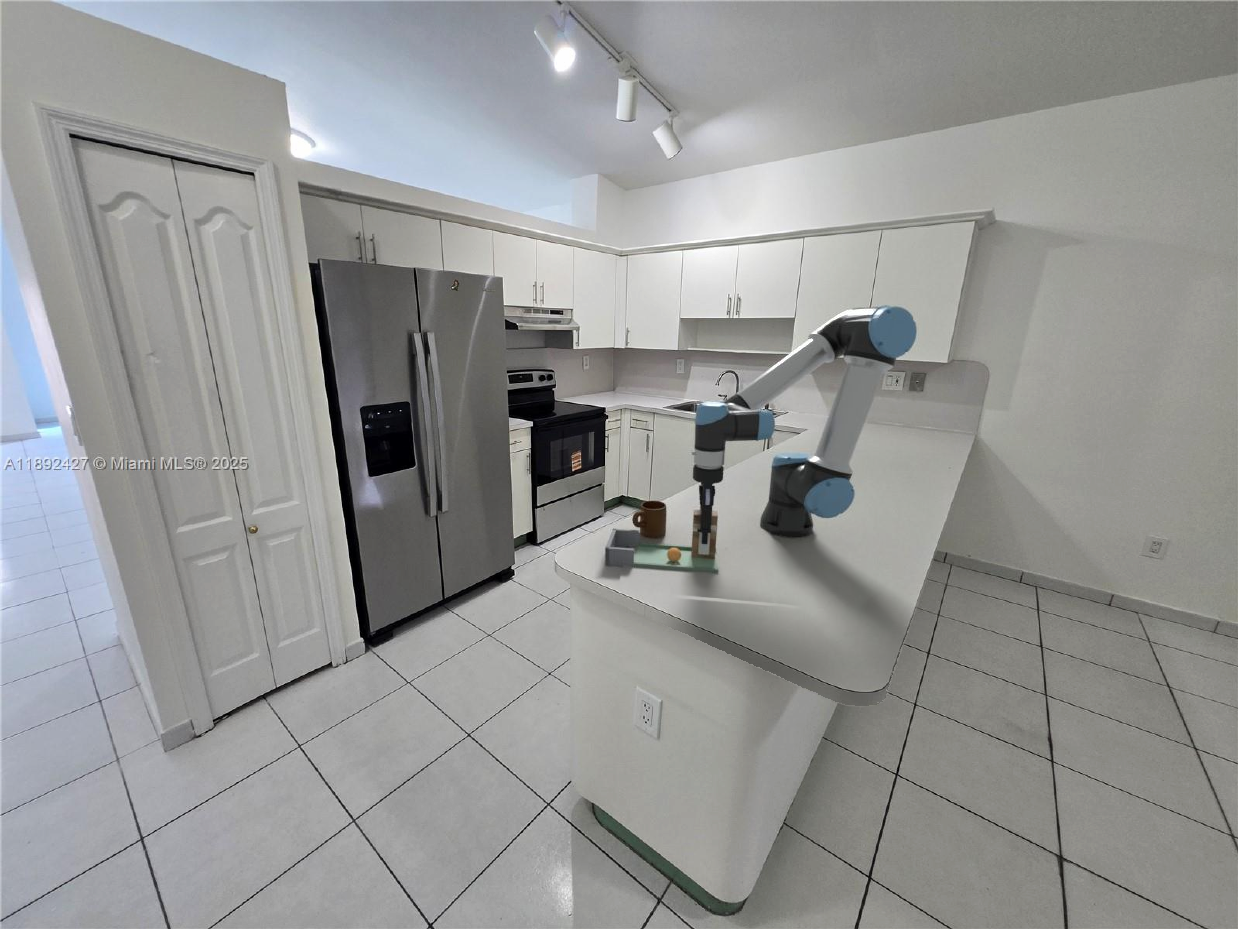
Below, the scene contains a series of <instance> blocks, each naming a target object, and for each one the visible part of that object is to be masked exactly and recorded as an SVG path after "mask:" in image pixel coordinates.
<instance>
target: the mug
mask: <svg viewBox="0 0 1238 929" xmlns="http://www.w3.org/2000/svg"><path fill="white" fill-rule="evenodd" d="M667 514H668V513H667V504H666V503H665V502H664V501H663V502H662V501H659V500H646V501H643V502H642V503H641V504H640V510H637V511H636V512H634V513H633V515H632V517H631V518H632V524H633V525H634V527H636V528H639V535H641V536H642V537H644V538H647V539H661V538H663V537H665V535H666V532H667Z"/></svg>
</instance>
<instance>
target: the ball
mask: <svg viewBox="0 0 1238 929" xmlns="http://www.w3.org/2000/svg"><path fill="white" fill-rule="evenodd" d="M667 557H668V559H669V560H670V561H672V562H677V561H679V560H680V558H681V552H680V550H679V549H677V548H671V549H669V550H668V552H667Z"/></svg>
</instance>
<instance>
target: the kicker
mask: <svg viewBox="0 0 1238 929" xmlns="http://www.w3.org/2000/svg"><path fill="white" fill-rule="evenodd" d="M718 516H719V514H718V511H717V510H712V519H711V533H710V545H709V555H704V554H698V548H699V532H697V529H700V526H701V510H700V509H693V517H692V518H693V519H692V533H691V534H692V538H691V546H692V557H695V558H708V559H715V550H716V551H717V547H716V546H717V535H718V519H719V518H718Z"/></svg>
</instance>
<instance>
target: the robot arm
mask: <svg viewBox="0 0 1238 929" xmlns="http://www.w3.org/2000/svg"><path fill="white" fill-rule="evenodd" d="M917 330H918V329H917V323H916V321H915V320H914V316H913V315H912V313H911V312H909V310H908V309H905V308H904V307H901V306H892V305H891V306H890V305H886V304H885V305H881V306H872V307H871V306H870V307H869V306H868V307H854V308H851V309H847V310H845V311H842V312H841V313H839V314H837V315H836V316H834V317H832V318H831V319H828V320H827V321H826V322H825V323H823V324H822V325H820V326H819V327H818V328H817V329H815V330H813V332H811V333H809V335H808V337H807V341H805V342H804V343H802V344H800V346H798V347H797V348H796V349H794V350H792V351H791V352H790V353H789V354H787V355H786V356H785V357H783V358H782V359H781V360H780V361H778V362H776V363H775V364H774V365H773V366H771V367H770V368H769V369H767V370H766V371H764V372H763V373H762V374H761V375H759V376H758V377H757V378H755V379H754V380H752V381H751V382H749V383H748V384H746V386H744V387H743V388H742V389H740V390H739V391H737V392H736V393H734V394H733V395H732V396H731V397H729V398H728V399H721V400H720V399H719V400H717V401H705V402H700V403H699V404H698V405H697V407H696V412H695V420H694V424H695V425H694V446H693V447H694V449H693V451H691V456H693V463H694V465H692V466H693V467H692V479H693V481H696V482H697V483H700V484H699V485H698V493H699V494H698V495H699V497H698V498H699V506H700V507H699V510H701V526H700V529H697V532H699V548H698V554H704V555H709V545H710V533H711V519H712V511H713V506H714V503H715V496H716V486H715V485H714V484H719V483H722V481H724V472H725V470H724V464H725V461H726V460H725V459H726V458H725V457H726V444H727V442H743V441H744V442H745V441H746V442H747V441H749V442H750V441H751V442H753V441H756V442H758V441H764V440H768V439H769V440H770V439H771V438H772V436H773V435H774V432H775V428H776V421H775V417H774V414H773V413H772V412H771V411H770V410H768V409H763V408H764V407H765V406H766V405H768V404H769V403H771V402H773V401H774V400H775V399H776V398H778V397H779V396H781V395H782V394H783V393H785V392H786V391H787V390H788V389H790V388H791V387H793V386H794V385H795V384H797V383H799V381H801V380H803V379H804V378H805V377H807V376H808V375H810V373H812V372H813V371H815V370H816V369H817V368H819V367H820V366H822V365H823V364H824V363H827V364H830V363H832V362H834V361H835V360H836V359H838V358H840V357H842V358H843V360H844V362H845V364H846V367H845V369H844V373H843V375H842V378H841V380H840V384H839V386H838V389H837V391H836V393H835V394H836V395H835V397H834V401H833V402H832V405H831V407H830V408H831V409H830V411H829V413H828V417H827V419H826V422H825V425H824V427H823V431H822V433H821V437H820V440H819V442H818V445H817V447H816V450H815V453H814V454H813V455H812V454H808V453H801V452H799V453H798V452H797V453H795V452H787V453H786V452H785V453H779V454H776V455H774V457H772V458H773V459H772V463H771V472H770V481H769V483H770V484H769V491H768V492H769V493H768V494H769V495H768V501H767V502H766V506H765V508H764V510H763V512H762V514H761V517H760V522H759V524H760V525H759V526H760V527H761V528H762V529H763V530H766V531H768V532H770V534H772V535H775V536H779V537H783V538H791V539H792V538H793V539H794V538H795V539H796V538H799V539H800V538H804V537H805V538H806V537H808V536H810V535H811V534H812V533H813V530H814V520H813V516H812V515H815V516H817V517H819V518H821V519H832V518H836V517H838V516H839V515H842V514H843V513H845V512H846V511H847V510H848V509H849V508H850V507H851V505H852V503H853V501H854V499H855V495H856V494H855V489H854V485H853V484H852V482H851V478H852V476H853V473H854V471H853V469H852V467H851V465H850V462H851V459H852V457H853V454H854V452H855V449H856V447H857V444H858V441H859V439H860V436H861V433H862V431H863V428H864V425H865V422H866V421H867V418H868V414H870V413H869V412H870V410H871V407H872V404H873V402H874V399H875V396H876V394H877V391H878V388H879V387H880V386H879V385H880V383H881V381H882V379H883V375H884V374H885V373H886V372H888V371H889V370H891V369H893V368H894V366H895V363H896V361H897V358H900V357H902V356H904V355H905V354H906V353H908V352H909V351H910V350H911V349H912V347H913V346H914V344H915V342H916V338H917V333H918V332H917Z"/></svg>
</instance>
